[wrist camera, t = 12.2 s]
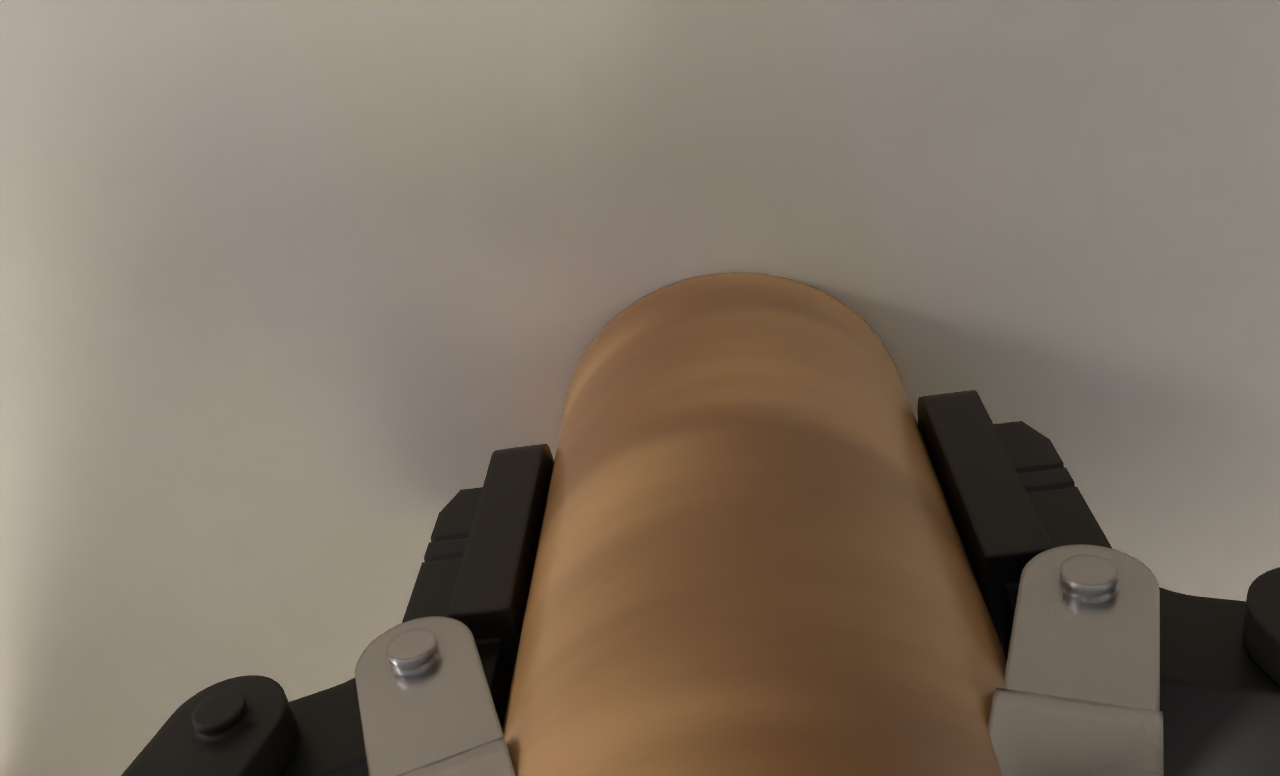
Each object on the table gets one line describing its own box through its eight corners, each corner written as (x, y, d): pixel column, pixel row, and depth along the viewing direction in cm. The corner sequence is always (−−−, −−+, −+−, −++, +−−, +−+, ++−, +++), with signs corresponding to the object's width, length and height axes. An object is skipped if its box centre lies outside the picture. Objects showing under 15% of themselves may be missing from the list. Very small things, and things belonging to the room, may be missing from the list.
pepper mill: (598, 581, 18) (510, 1394, 9) (532, 297, 15) (320, 1002, 6) (913, 545, 17) (1172, 1373, 8) (895, 246, 15) (1226, 938, 6)
